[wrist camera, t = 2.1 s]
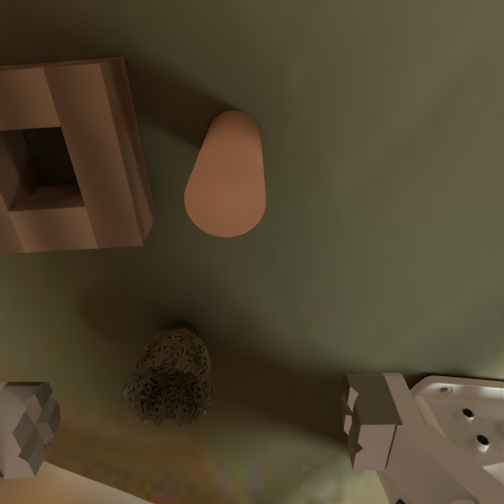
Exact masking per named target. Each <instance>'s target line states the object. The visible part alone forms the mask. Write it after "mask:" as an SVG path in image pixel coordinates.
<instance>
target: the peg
mask: <svg viewBox="0 0 504 504" xmlns="http://www.w3.org/2000/svg"><path fill="white" fill-rule="evenodd" d="M184 201H185V207H186V210H187V213H188V215H189V217H190V218H191V220H192V221H193V222H194V223H195V225H196V226H198V227H199V228H200V229H201V230H203V231H204V232H206V233H208V234H211V235H214V236H218V237H235V236H239V235H242V234H244V233H246V232H248V231H250V230H251V229H253V228H254V227H255V226H256V225H257V224H258V222H259V221H260V220H261V218H262V216H263V214H264V211H265V207H266V192H265V180H264V168H263V157H262V145H261V134H260V129H259V127H258V125H257V123H256V122H255V120H254V119H253V118H252V117H251V116H249V115H248V114H246V113H244V112H241V111H236V110H231V111H226V112H223V113H221V114H220V115H218V116H217V117H216V118H215V119H214V120H213V121H212V123H211V125H210V127H209V129H208V132H207V134H206V137H205V140H204V142H203V145H202V147H201V150H200V152H199V155H198V158H197V160H196V163H195V165H194V168H193V171H192V173H191V176H190V178H189V181H188V183H187V186H186V189H185V195H184Z"/></svg>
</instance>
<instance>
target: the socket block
mask: <svg viewBox="0 0 504 504" xmlns="http://www.w3.org/2000/svg"><path fill="white" fill-rule="evenodd" d="M60 126H61V129H62V132H63V135H64V139H65V142H66V145H67V148H68V152H69V155H70V158H71V161H72V165H73V168H74V171H75V175H76V178H77V181H78V183H72V184H57V185H41V183H40V180H39V177H38V174H37V171H36V169H35V166H34V163H33V160H32V157H31V155H30V152H29V149H28V146H27V143H26V141H25V138H24V135H23V132H22V129H31V128H46V127H60ZM156 217H157V213H156V208H155V204H154V199H153V194H152V189H151V185H150V180H149V175H148V170H147V165H146V161H145V156H144V151H143V146H142V141H141V137H140V132H139V127H138V122H137V117H136V113H135V108H134V103H133V98H132V93H131V89H130V84H129V79H128V74H127V69H126V65H125V60H124V56H123V57H110V58H97V59H83V60H70V61H57V62H44V63H31V64H18V65H5V66H0V254H15V253H31V252H48V251H64V250H81V249H98V248H114V247H131V246H143V245H144V243H145V240H146V238H147V236H148V234H149V232H150V230H151V228H152V226H153V224H154V222H155V220H156Z"/></svg>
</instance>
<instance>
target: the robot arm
mask: <svg viewBox="0 0 504 504" xmlns="http://www.w3.org/2000/svg"><path fill="white" fill-rule="evenodd" d="M343 388H344V393H343V394H342V395H341V400H340V412H341V420H342V425H343V429H344V431H345V432H346V433H347V434H348V435H349V437H348V444H347V447H348V451H349V455H350V459H351V463H352V467H353V470H375V471H376V473H377V475H378V477H379V479H380V482H381V484H382V486H383V488H384V491H385V493H386V496H387V498H388V501H389V503H390V504H504V382H501V381H490V380H479V379H468V378H457V377H446V376H428V377H426V378H424V379H422V380H421V381H420V382H418V383H417V384H416V385H415V386H414V387H413V388H412V389H410V390H409V388H408V386H407V384H406V382H405V379H404V377H403V375H402V374H401V373H381V374H380V373H369V374H345V375H344V377H343ZM52 391H53V390H52V388H51V386H50V384H49V383H48V382H0V483H1V482H2V481H3V480H2V479H4V478H23V477H36V474H37V472H38V470H39V468H40V466H41V464H42V462H43V460H44V457H45V455H46V453H47V452H46V448H45V444H46V443H48V442H49V441H50V440H51V439H52V438H53V437H54V436H55V434H56V431H57V429H58V426H59V421H60V407H59V405H58V402H57V401H55V400H54V399H53V398H51V397H50V395H51V393H52Z"/></svg>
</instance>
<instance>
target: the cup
mask: <svg viewBox="0 0 504 504" xmlns="http://www.w3.org/2000/svg"><path fill="white" fill-rule="evenodd" d="M122 393H124V397H123V401H125V400H127V399H130V400H129V411H131V410H132V409H134V408H136V410H137V414H138V416H139V417H140V419H141V421H143V422H146V421H149V420H153V421H154V424H156V425H158V426H159V425H161V424H162V422H163V420H164V419H165V417H166V418H169V419H173V418H174V419H175V418H176V420H177V421H178V426H181V425H182V424H183V423H184V420H185V421H186V423H187V424H188V425H190V426H191V425H193V424H194V423H195V421H196V420H197V418H198V416H199V414H201V416H202V417H203V418H204V416H205V414H206V411H207V405H208V407H209V408H211V402H212V400H213V397H212V371H211V360H210V355H209V352H208V349H207V347H206V345H205V344H204V342H203V341H202V340H201V339H200V338H199V336H198V333H197V331H196V330H195V329H194V328H193V327H192V326H190V325H188V324H185V323H175V324H172V325H170V326H169V327H167V328H166V329H165V330H164V331H163V332H160V333H158V334H157V335H155V336H154V337H152V338H151V339H150V340H149V341H148V342H147V344H146V345H145V346H144V348H143V349H142V351H141V353H140V354H139V356H138V358H137V360H136V362H135V364H134V366H133V368H132V370H131V372H130V374H129V376H128V378H127V379H126V381H125V385H124V387H123V390H122Z"/></svg>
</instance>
